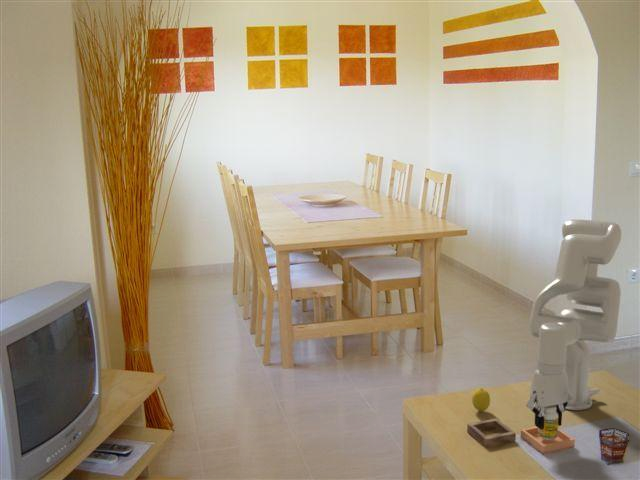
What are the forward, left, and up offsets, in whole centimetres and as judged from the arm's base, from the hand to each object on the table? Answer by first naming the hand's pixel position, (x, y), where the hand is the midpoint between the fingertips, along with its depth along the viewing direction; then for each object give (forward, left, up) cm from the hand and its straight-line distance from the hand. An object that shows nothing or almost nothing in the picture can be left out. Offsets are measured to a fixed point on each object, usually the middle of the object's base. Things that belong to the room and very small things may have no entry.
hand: (548, 424), depth 201 cm
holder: (+13, -9, -5) cm, 17 cm away
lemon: (+7, -24, -6) cm, 26 cm away
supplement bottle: (0, 0, -4) cm, 4 cm away
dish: (0, 0, -5) cm, 5 cm away
